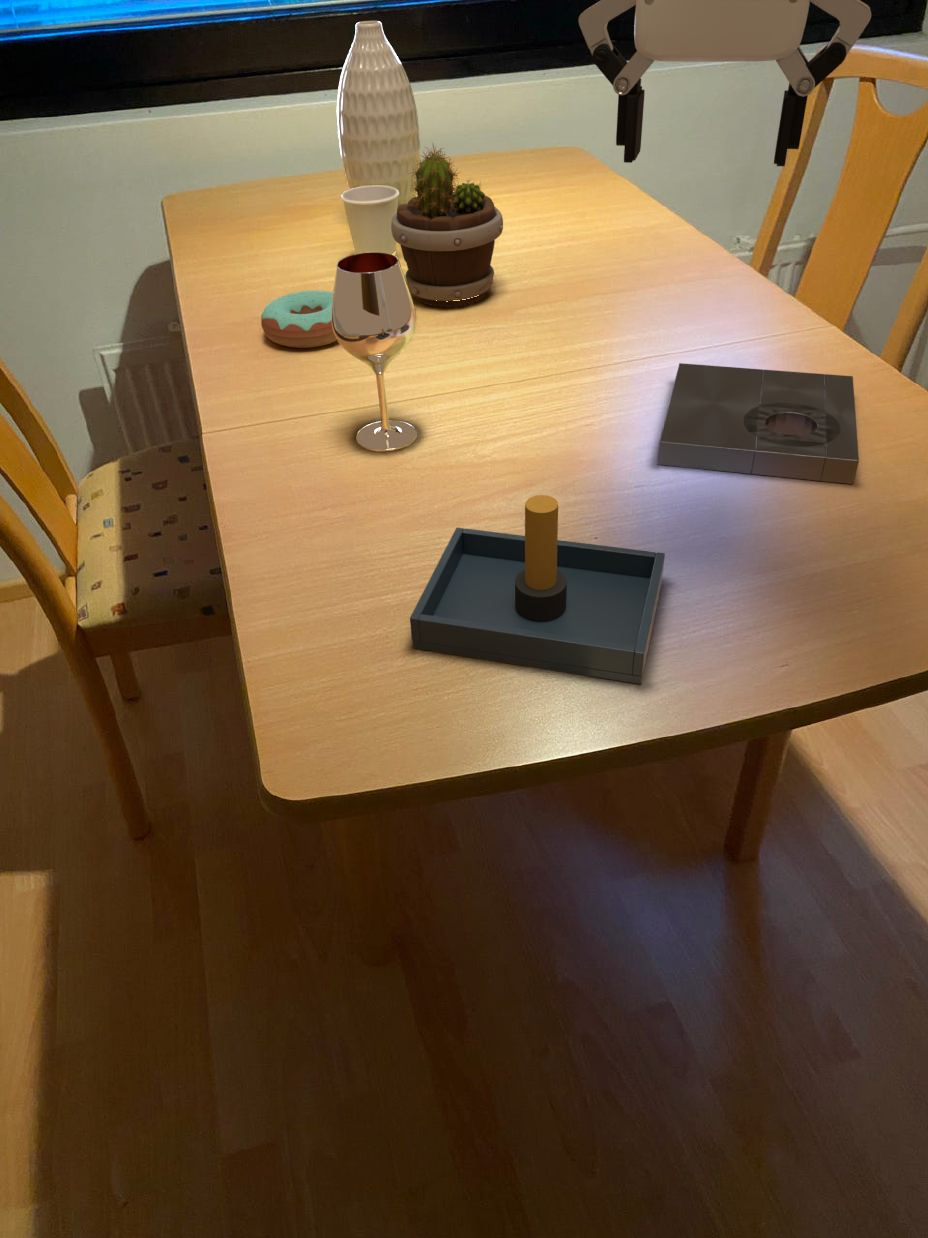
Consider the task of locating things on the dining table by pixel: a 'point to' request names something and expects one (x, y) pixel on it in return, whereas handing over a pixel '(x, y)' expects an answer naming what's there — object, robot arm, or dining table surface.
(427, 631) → the basin tray
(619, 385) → the dining table surface
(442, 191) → the flowerpot
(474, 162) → the dining table surface
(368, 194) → the dixie cup
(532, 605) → the plug
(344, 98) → the vase
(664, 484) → the dining table surface
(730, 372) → the drain plate
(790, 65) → the robot arm
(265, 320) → the donut
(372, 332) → the wineglass
